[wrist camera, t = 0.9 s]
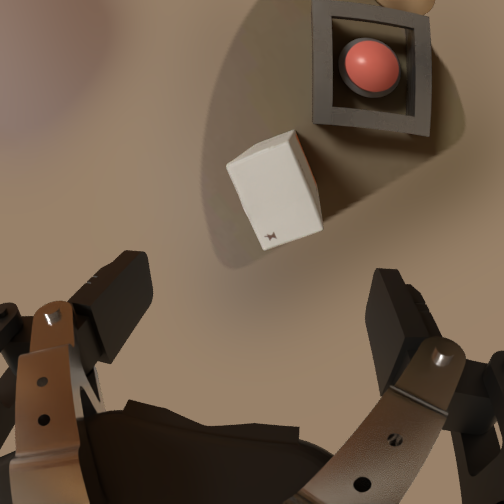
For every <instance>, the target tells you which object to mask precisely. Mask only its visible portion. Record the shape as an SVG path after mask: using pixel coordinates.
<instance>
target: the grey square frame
mask: <svg viewBox="0 0 504 504" xmlns="http://www.w3.org/2000/svg"><path fill="white" fill-rule="evenodd" d="M331 18H334V19H345V20H354V21H362V22H370V23H376V24H383V25H388V26H394V27H399V28H404V29H405V33H406V58H407V94H406V115H400V114H394V113H387V112H379V111H371V110H362V109H352V108H342V107H332V100H333V56H332V20H331ZM311 24H312V122H313V124H327V125H340V126H352V127H362V128H371V129H380V130H388V131H395V132H402V133H409V134H415V135H421V136H427V137H429V136H430V121H431V96H432V61H431V37H430V23H429V17H427V16H424V15H420V14H415V13H411V12H406V11H402V10H397V9H392V8H386V7H380V6H374V5H368V4H360V3H352V2H343V1H332V0H312V6H311Z"/></svg>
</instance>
